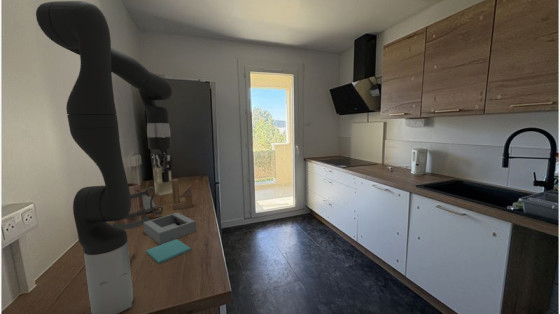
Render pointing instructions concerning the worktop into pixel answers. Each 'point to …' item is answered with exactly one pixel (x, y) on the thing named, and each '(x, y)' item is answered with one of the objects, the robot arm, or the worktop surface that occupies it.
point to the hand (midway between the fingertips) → (162, 180)
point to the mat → (168, 250)
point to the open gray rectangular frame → (169, 227)
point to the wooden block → (176, 197)
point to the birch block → (160, 186)
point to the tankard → (136, 208)
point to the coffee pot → (147, 201)
